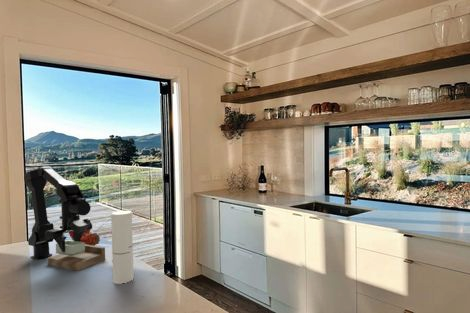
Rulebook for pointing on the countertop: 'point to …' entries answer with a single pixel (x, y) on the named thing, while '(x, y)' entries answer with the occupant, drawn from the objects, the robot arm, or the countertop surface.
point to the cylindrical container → (122, 246)
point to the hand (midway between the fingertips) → (70, 250)
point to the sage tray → (71, 248)
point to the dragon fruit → (90, 239)
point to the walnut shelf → (79, 258)
